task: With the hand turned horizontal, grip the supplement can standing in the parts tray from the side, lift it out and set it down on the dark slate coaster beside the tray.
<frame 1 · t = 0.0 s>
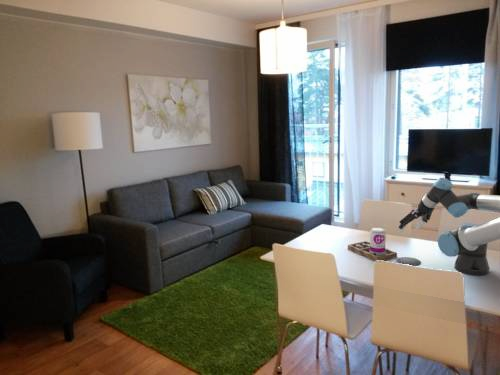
hand: (407, 229, 213), 15 cm above the table, tool tilted 35°, fingers open, 13 cm apart
parts tray: (371, 252, 223), on the table
supplement can: (377, 255, 219), resting in parts tray
coaster: (408, 261, 208), on the table
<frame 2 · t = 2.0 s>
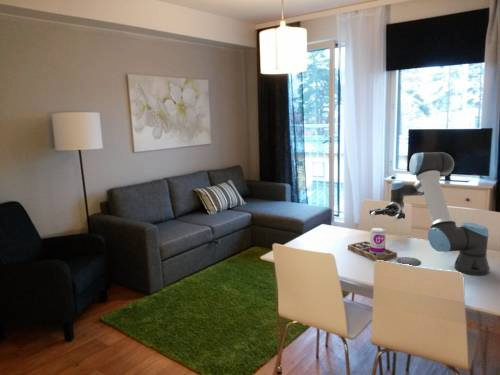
hand: (383, 217, 224), 19 cm above the table, tool horizontal, fingers open, 13 cm apart
nothing on the table moved.
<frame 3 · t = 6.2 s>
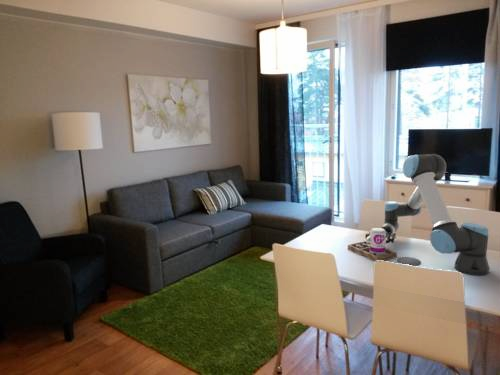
hand: (375, 242, 214), 9 cm above the table, tool horizontal, fingers closed on supplement can, 8 cm apart
supplement can: (377, 255, 219), resting in parts tray, touching gripper
when the fingers open (10 cm above the table, at t = 11.4 s): supplement can stays where it is, resting on coaster.
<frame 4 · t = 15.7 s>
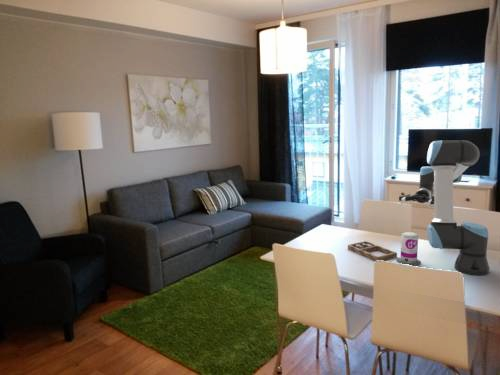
hand: (415, 202, 211), 30 cm above the table, tool horizontal, fingers open, 13 cm apart
supplement can: (408, 261, 209), resting on coaster
at the end: supplement can 0.1 cm from the coaster (horizontally); supplement can tilted 0°; supplement can resting on coaster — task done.
